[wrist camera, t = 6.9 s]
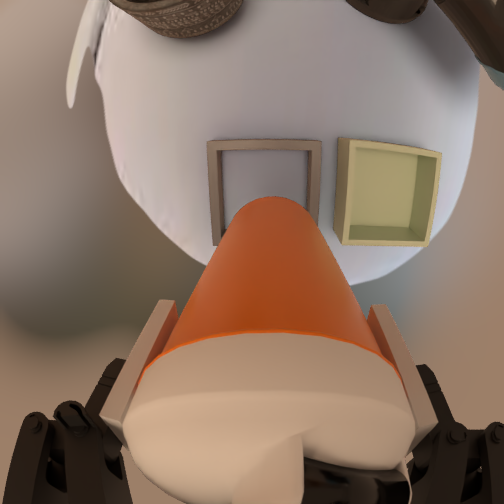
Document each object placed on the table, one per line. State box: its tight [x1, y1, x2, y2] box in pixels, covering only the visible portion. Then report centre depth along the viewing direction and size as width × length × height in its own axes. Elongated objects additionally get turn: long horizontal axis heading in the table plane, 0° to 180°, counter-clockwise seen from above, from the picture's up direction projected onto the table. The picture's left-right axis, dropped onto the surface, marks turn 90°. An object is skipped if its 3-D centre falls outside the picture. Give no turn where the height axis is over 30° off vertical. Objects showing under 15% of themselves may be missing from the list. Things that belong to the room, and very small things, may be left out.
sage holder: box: [333, 138, 442, 247], centre depth 35 cm, size 14×14×6 cm
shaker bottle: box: [122, 196, 415, 504], centre depth 13 cm, size 9×9×20 cm
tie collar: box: [207, 139, 321, 246], centre depth 38 cm, size 17×14×4 cm
